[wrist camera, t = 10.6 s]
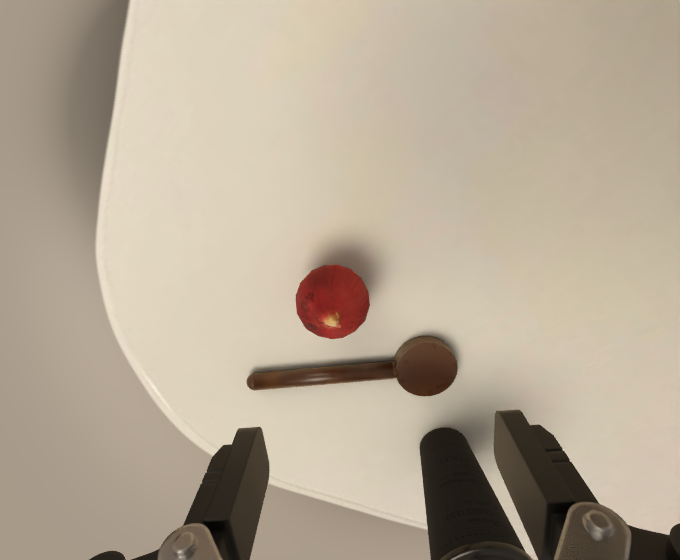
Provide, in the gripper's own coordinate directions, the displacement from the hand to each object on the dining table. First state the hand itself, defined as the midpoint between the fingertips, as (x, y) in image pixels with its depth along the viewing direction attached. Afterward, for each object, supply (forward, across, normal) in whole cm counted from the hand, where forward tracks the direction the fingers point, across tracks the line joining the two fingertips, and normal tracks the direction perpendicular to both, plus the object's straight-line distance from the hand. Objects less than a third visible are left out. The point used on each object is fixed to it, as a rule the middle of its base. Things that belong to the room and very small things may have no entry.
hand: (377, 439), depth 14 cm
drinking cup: (+22, -6, +21) cm, 31 cm away
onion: (+22, +3, +2) cm, 22 cm away
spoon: (+22, +3, +11) cm, 24 cm away
